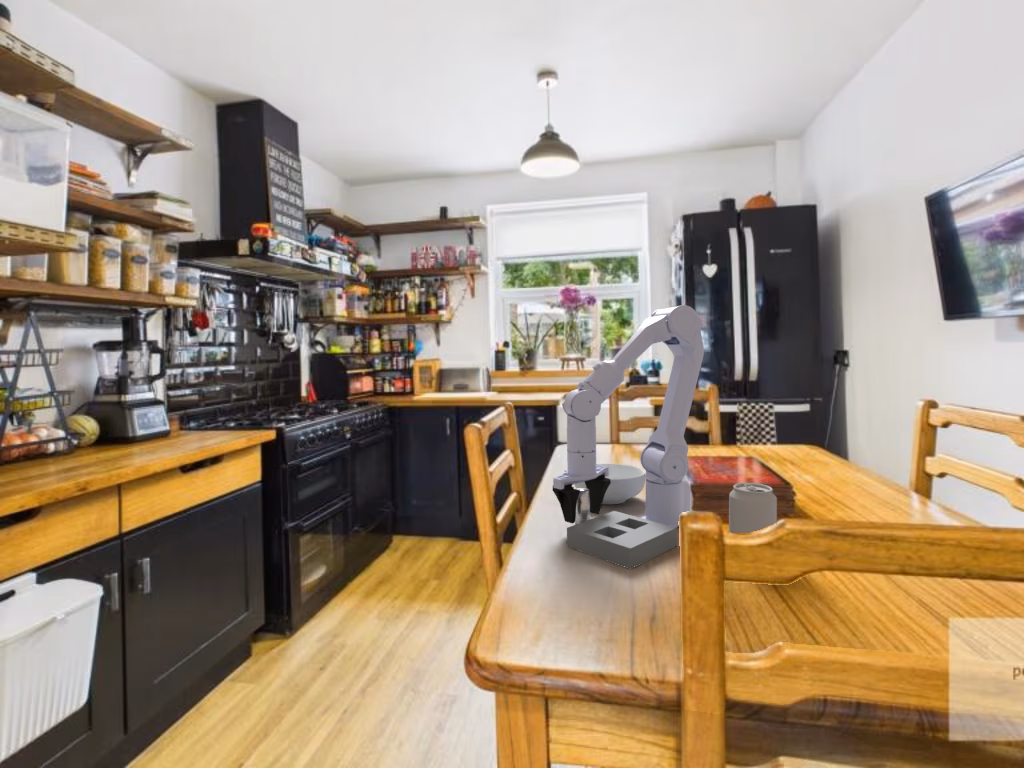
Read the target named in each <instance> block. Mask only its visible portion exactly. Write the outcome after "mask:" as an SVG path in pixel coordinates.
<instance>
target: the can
mask: <svg viewBox="0 0 1024 768" xmlns="http://www.w3.org/2000/svg"><path fill="white" fill-rule="evenodd" d="M732 487H733V489H732V491H730V492H729V494H728V496H729V497H728V499H729V500H728V533H729V532H731V533H750V532H753V531H757V530H760V529H763V528H765V527H767V526H769V525H771V524H773V523H775V522H776V521H777V520H778V519H777V517H778V516H777V514H778V513H777V511H778V510H777V509H778V506H777V505H778V504H777V503H778V498H777V496H776V495H775V494H774V493H773V491H774V489H773V488H772V487H771V486H769V485H766V484H762V483H756V482H755V483H754V482H738V483H735V484H733V486H732ZM777 522H778V521H777ZM777 522H776V523H777Z"/></svg>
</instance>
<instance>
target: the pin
mask: <svg viewBox="0 0 1024 768" xmlns="http://www.w3.org/2000/svg"><path fill="white" fill-rule="evenodd" d="M577 490H580V493H579V496H578V499H577V504H576V518H575V523H574V525H576V524H579V523H582V522H584V521H587V520H590V519H591V512H590V490H589V489H587V488H577Z"/></svg>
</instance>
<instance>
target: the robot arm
mask: <svg viewBox="0 0 1024 768" xmlns="http://www.w3.org/2000/svg"><path fill="white" fill-rule="evenodd" d="M702 324H703V320H702V318H701V317H700V316H699V314H698V312H696V310H695V309H694V308H693V307H691V306H690V305H685V304H681V305H678V306H673V307H668V308H665V307H663V308H658V309H656V310H654V311H653V312H652V313H651V315H650V316H649V317H647V318H646V319H644V321H643V322H642V323H641V325H640V326H639V328H637V330H636V331H635V332H634V333H633V334H632V336H631V337H630V338H629V339H628V340H627V341H626V343H625V344H623V346H622V347H621V348H620V349H619V351H618V352H617V353H616V354H615V356H614V357H612V359H611V360H602V361H601V362H600V363H599V362H596V363H595V364H594V365H592V369H593V370H592V372H590V373H589V374H588V376H587V377H586V378H585V379H583V380H582V382H581V381H579V382H578V383H577V384H576V387H577V388H576V389H573V390H571V391H569V392H568V393H567V394H566V395H565V397H564V401H563V402H562V403H561V404H562V405H561V406H562V410H563V412H564V413H565V414H566V450H567V452H566V456H567V458H566V459H567V460H566V461H567V462H566V463H567V464H566V465H567V468H566V469H564V472H563V473H561V474H559V475H558V476H556V477H552V479H553V480H552V492H553V493H554V495H555V496H556V498H557V501H558V502H559V505H560V508H561V512H562V516H563V519H564V522H566V523H570V524H575V518H576V504H577V499H578V496H579V493H580V490H577V489H576V488H574V487H575V485H574V484H577V483H581V482H584V481H585V484H586V488H587V489H589V490H590V514H594V515H600V514H601V509H602V505H603V504H602V502H603V498H604V495H605V493H606V491H607V489H608V487H609V485H610V484H611V481H610V479H609V478H605V477H606V476H609V467H607V466H602V465H601V466H596V464H597V426H596V425H597V424H596V419H597V418H596V417H597V416H599V414H600V412H601V408H602V404H603V403H604V402H605V401H606V400H607V399H608V398H610V396H611V395H612V394H613V393H614V392H615V391H616V389H618V387H619V386H620V385H621V384H622V383H623V382H624V381H625V371H626V370H627V369H628V368H629V367H630V366H631V365H632V364H633V363H634V362H635V361H637V360H638V359H639V358H640V356H642V355H643V354H644V352H646V351H647V350H648V349H649V348H650V347H651V346H653V344H657V343H661V342H662V343H664V344H665V345H666V346H667V348H669V350H670V352H671V354H672V355H673V356H674V358H673V362H672V366H671V369H670V374H669V378H668V382H667V388H666V390H665V395H664V399H663V403H662V408H661V410H660V411H661V412H660V417H659V419H658V422H657V423H658V425H657V428H656V429H655V431H654V432H653V433H651V435H650V436H649V437H648V441H647V444H646V446H644V447H643V449H642V451H641V453H640V457H639V459H640V460H639V461H640V464H641V466H642V469H643V470H644V471H645V473H646V474H645V515H643V516H641V517H639V518H643V519H646V520H650V521H654V522H658V523H661V524H665V525H669V526H673V527H676V528H678V527H680V526H679V525H678V521H679V515H680V514H681V513H682V512H686V511H690V512H691V487H690V484H689V482H688V480H686V478H685V476H686V475H687V473H688V470H689V460H688V454H689V453H688V452H689V446H688V444H687V441H686V439H685V436H684V435H685V432H686V428H687V424H688V420H689V416H690V411H691V408H692V403H693V399H694V395H695V391H696V388H697V384H698V383H697V382H698V379H699V376H700V371H701V367H702V364H703V363H702V362H703V359H704V354H705V347H704V342H703V337H702V333H701V328H702Z"/></svg>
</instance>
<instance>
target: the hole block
mask: <svg viewBox="0 0 1024 768" xmlns="http://www.w3.org/2000/svg"><path fill="white" fill-rule="evenodd" d="M677 528H678V527H673V526H669V525H665V524H661V523H658V522H654V521H650V520H646V519H643V518H640V517H638V516H635V515H631V514H627V513H624V512H621V511H616V510H612V511H610V512H607V513H603V514H601V515H599V516H598V515H597V516H596V517H593V518H590V520H587V521H584V522H582V523H579V524H576V525H575V524H574V525H572V526H571V525H570V526H568V527H566V547H567V546H568V547H567V548H570V547H571V549H573V550H576V549H577V550H576V551H578V550H579V551H578V552H581V551H582V552H581V553H585V554H586V555H589V554H590V556H593V557H595V558H598V559H601V558H602V559H601V560H603V559H605V560H604V561H606V560H608V561H607V562H609V561H610V562H609V563H612V562H613V564H615V563H616V564H615V565H617V564H619V565H618V566H620V565H622V566H621V567H623V566H625V567H624V568H626V567H628V568H627V569H629V568H632V567H634V566H636V565H638V566H640V565H641V563H642V564H644V563H646V562H648V561H650V560H652V559H654V558H656V557H658V556H660V555H662V554H664V553H666V552H668V551H670V550H672V549H674V548H676V547H677V546H678V545H677V543H678V542H677V541H678V540H677V536H678V535H677V530H678V529H677ZM675 546H676V547H675ZM671 548H672V549H671ZM669 549H670V550H669ZM667 550H668V551H667ZM665 551H666V552H665ZM663 552H664V553H663ZM661 553H662V554H661ZM659 554H660V555H659ZM651 558H652V559H651ZM645 561H646V562H645ZM643 562H644V563H643ZM639 564H640V565H639ZM636 567H637V566H636ZM634 568H635V567H634ZM632 569H633V568H632Z"/></svg>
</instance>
